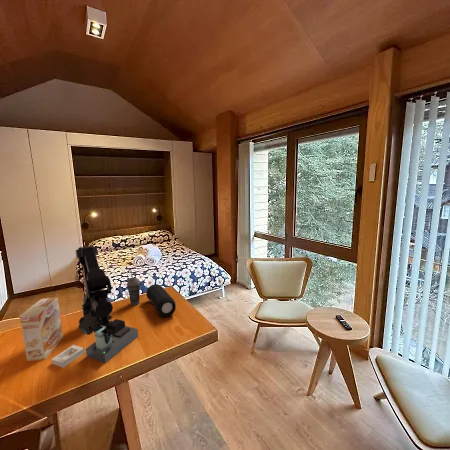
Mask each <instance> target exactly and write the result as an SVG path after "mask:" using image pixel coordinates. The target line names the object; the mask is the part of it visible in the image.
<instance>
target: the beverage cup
mask: <svg viewBox="0 0 450 450" xmlns="http://www.w3.org/2000/svg"><path fill="white" fill-rule="evenodd" d="M130 276H131V277H130V278H128V280H127V283H126V288H127V291H128V295H129V300H130V305H131V306H138V305H139V304H140V299H141V298H140V294H141V293H140V291H141V289H140V288H141V281H140V280H139V278H138V277H133V273H132V270H130Z"/></svg>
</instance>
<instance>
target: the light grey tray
mask: <svg viewBox="0 0 450 450" xmlns="http://www.w3.org/2000/svg"><path fill="white" fill-rule="evenodd" d="M84 354H86V351H85V347H82V346H78V345H75V344H72V345H71V346H69V347H68V348H67V349H65V350H62V352H60V353H59V354H57V355H55V356H54V357H53V358H51V364H52V365H55V366H57V367H59V368H63V369H64V368H65V367H66V366H68V365H70V364H71V363H72V362H73V361H75V360H76V359H78V358H79V357H81V356H82V355H84Z"/></svg>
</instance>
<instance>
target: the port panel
mask: <svg viewBox="0 0 450 450" xmlns="http://www.w3.org/2000/svg"><path fill="white" fill-rule="evenodd" d="M111 338H112V344H111V345H109V346H108V347H107V348H105V349H104V350H103V351H101V350H98V349H96V341H95V342H94V343H91V344H90V345H89V346H87V347H86V348H85V356H86V358H89V359H92V360H95V361H97V362H100V363H104V364H106V363H108V362H109V361H110V360H111V359H113V358H114V357H115V356H116V355H118V354H119V353H120V352H121V351H122V350H124V349H125V348H126V347H127V346H128V345H130V344H131V343H132V342H133V341H134V340H136V339H137V338H139V330H138V328H135V327H130V326H128V325H125V327H124V328H123V329H121V330H120V331H119V332H117V333H116V334H112V336H111Z"/></svg>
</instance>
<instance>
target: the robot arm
mask: <svg viewBox="0 0 450 450" xmlns="http://www.w3.org/2000/svg"><path fill="white" fill-rule="evenodd" d="M97 255H99V250H98V246H95V245H88V246H87V245H86V246H81V247H80V246H79V247H78V249H76V250H75V256H76V259H78V261H79V264H80V265H82V269H83V277H84V285H85V295H84V298H83V303H82V305H81V310H82V315H83V316H81V317H80V319H79V320H78V328H79V331H80V333H82V334H85V335H88V336H89V335H91V334H93V333H94V334H95V332H97V331H98V330H100V329H101V328H103V327H105V328H104V330H102V331H101V333H103V334H104V338H105V342H106V344H108V343H109V341H110V338H111V336H112V334H116V333H117V332H119V331H120V330H121V329H123V328H124V327H125V326H126V323H125V320H122V319H117V318H115V319H114V320H111V319H113V316H112V315H111V313H112V312H113V310H114V308H113V304H112V302H111V301H110V299H109V297H108V295H110V294H112V291H113V290H112V289H113V287H112V283H111V279H110V278H109V275H106V273H105V270H103V269H101V267H100V266H99V262H98V261H99V260H98V259H97Z"/></svg>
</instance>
